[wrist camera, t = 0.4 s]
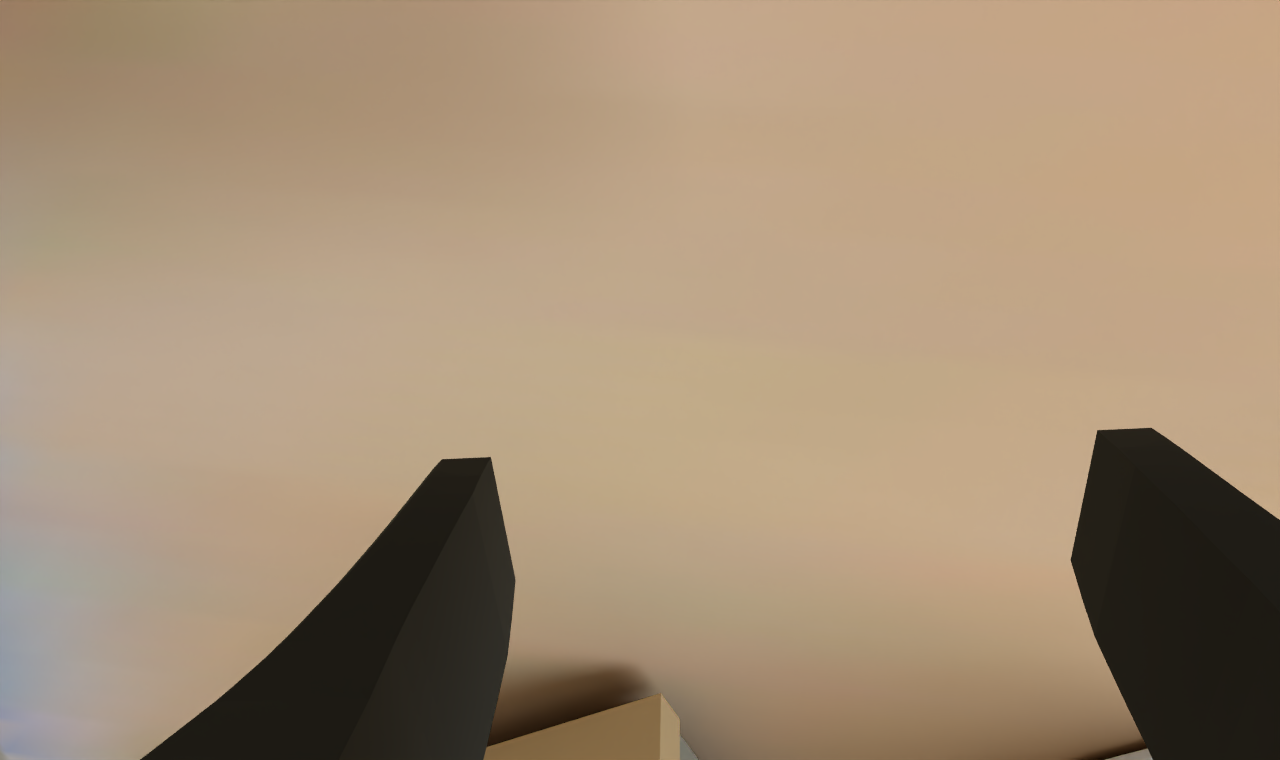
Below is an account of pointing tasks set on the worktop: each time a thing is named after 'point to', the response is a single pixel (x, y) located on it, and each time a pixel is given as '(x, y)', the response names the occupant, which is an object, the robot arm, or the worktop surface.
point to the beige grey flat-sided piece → (605, 736)
